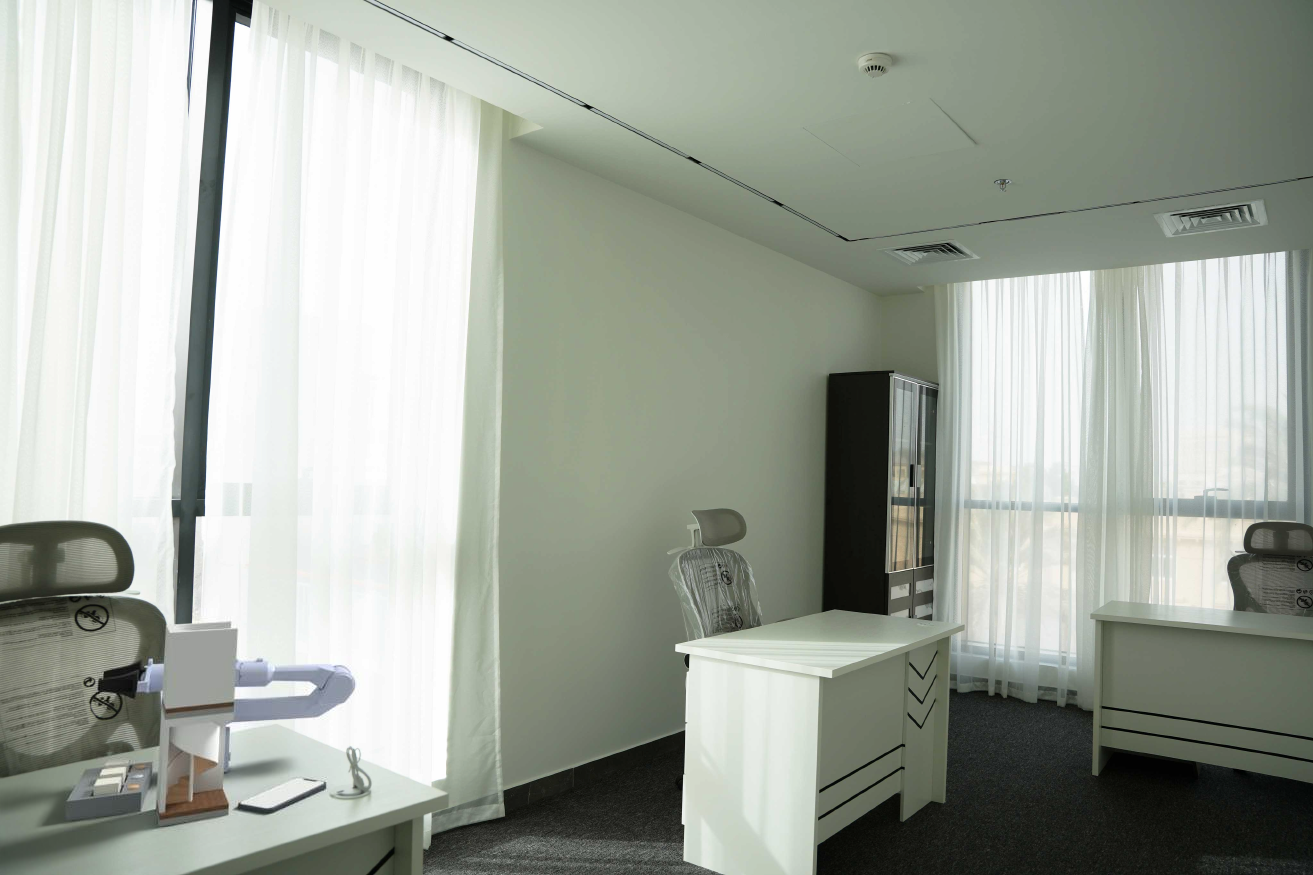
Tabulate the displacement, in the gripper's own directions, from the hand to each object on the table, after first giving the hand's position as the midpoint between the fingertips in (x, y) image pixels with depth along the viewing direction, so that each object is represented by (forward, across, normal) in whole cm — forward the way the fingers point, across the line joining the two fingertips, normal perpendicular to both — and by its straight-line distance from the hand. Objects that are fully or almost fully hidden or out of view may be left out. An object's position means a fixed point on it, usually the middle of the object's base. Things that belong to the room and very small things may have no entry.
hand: (100, 680), depth 180 cm
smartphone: (-36, +26, +20) cm, 48 cm away
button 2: (-5, +6, +18) cm, 20 cm away
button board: (-5, +13, +20) cm, 25 cm away
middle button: (-5, +13, +18) cm, 23 cm away
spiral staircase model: (-19, +27, +20) cm, 39 cm away
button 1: (-5, +19, +18) cm, 26 cm away
